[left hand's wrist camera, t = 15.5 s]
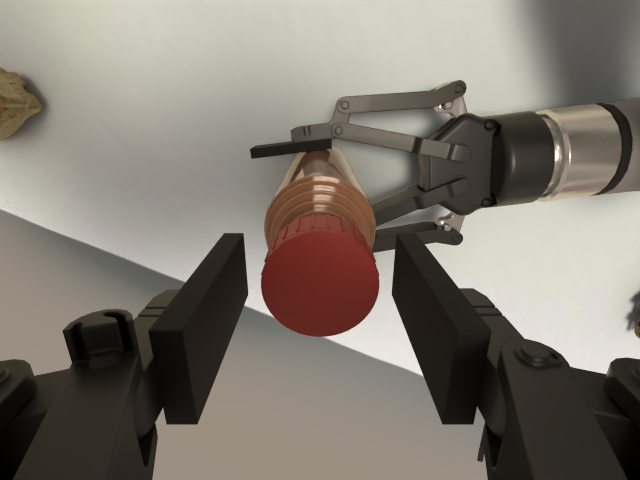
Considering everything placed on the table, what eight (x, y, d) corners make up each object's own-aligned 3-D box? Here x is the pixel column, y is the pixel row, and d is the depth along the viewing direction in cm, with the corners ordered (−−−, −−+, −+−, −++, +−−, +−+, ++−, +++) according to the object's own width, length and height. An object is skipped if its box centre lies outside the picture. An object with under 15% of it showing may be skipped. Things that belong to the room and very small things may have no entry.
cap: (247, 245, 14) (235, 266, 12) (340, 193, 13) (344, 207, 11) (301, 324, 15) (299, 355, 13) (389, 280, 15) (400, 307, 13)
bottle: (326, 130, 35) (339, 169, 11) (359, 177, 36) (428, 296, 13) (280, 165, 36) (207, 265, 13) (314, 209, 38) (304, 370, 14)
